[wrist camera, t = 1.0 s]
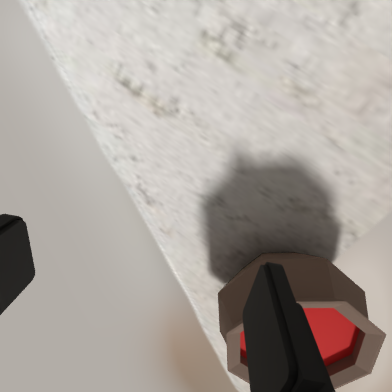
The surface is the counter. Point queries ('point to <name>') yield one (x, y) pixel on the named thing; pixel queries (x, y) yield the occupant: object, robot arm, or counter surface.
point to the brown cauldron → (309, 315)
